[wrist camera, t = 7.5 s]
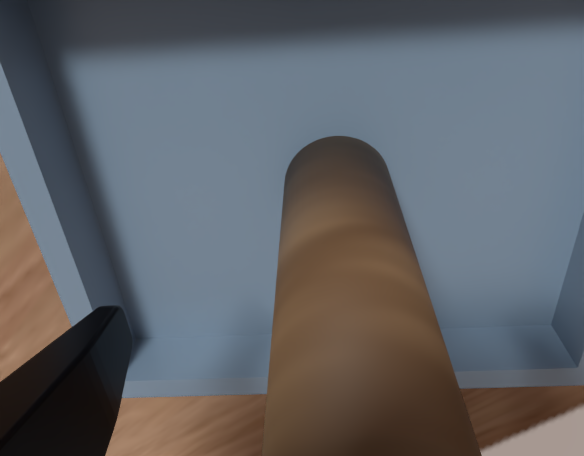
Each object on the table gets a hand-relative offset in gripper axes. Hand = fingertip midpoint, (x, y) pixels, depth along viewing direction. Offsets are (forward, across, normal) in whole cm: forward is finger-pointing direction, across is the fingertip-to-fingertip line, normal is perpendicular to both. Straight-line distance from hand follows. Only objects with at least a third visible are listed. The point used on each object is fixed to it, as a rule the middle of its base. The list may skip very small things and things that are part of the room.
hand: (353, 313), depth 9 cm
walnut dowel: (+5, 0, 0) cm, 5 cm away
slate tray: (+6, 0, 0) cm, 6 cm away
